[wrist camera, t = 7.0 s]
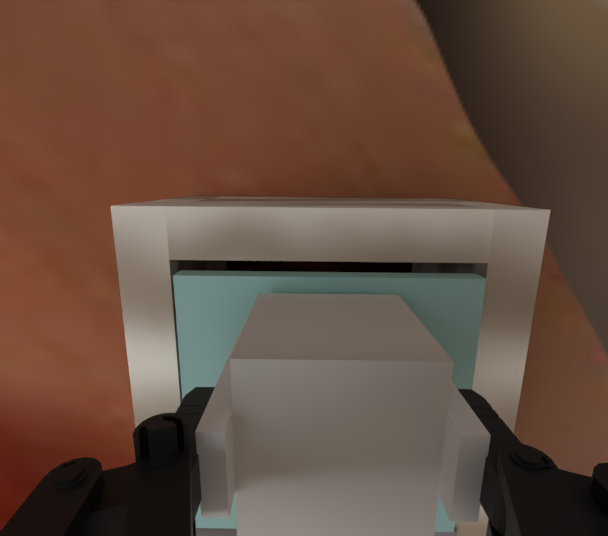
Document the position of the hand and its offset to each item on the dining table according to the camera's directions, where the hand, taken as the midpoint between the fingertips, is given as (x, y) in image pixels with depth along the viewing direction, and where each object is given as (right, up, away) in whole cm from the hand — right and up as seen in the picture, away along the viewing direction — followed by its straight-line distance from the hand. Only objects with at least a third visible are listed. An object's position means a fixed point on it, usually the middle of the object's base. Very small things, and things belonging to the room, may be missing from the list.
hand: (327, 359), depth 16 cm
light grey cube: (0, 0, 0) cm, 1 cm away
